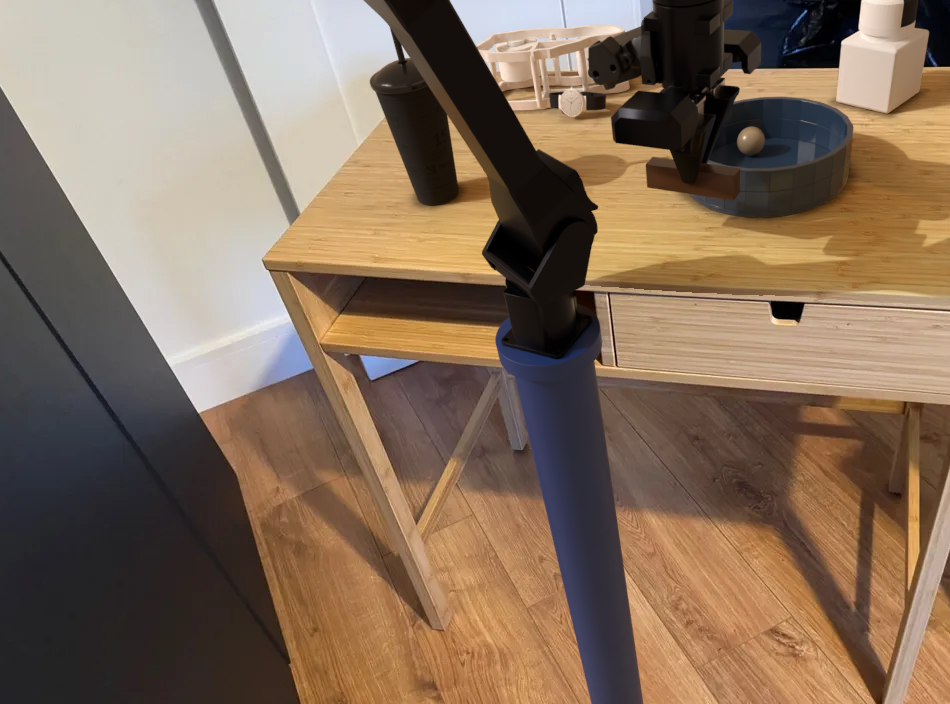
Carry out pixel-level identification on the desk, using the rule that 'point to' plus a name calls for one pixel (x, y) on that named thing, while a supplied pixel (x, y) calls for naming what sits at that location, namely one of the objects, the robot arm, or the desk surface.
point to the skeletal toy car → (527, 60)
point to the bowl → (783, 156)
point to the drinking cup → (417, 129)
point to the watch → (577, 101)
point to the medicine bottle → (882, 57)
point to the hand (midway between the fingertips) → (692, 178)
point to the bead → (751, 141)
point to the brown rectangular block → (707, 182)
